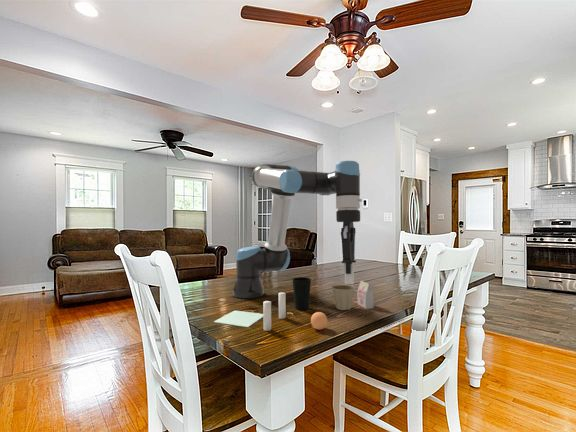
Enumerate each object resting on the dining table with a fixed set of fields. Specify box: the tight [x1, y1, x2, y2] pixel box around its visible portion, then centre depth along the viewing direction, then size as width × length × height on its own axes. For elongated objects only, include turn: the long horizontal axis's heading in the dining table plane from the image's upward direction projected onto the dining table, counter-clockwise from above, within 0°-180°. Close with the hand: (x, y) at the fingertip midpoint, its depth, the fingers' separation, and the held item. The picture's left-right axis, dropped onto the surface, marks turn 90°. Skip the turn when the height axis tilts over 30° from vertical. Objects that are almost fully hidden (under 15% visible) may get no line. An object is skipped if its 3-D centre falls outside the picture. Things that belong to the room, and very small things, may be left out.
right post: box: [278, 291, 287, 320], centre depth 107 cm, size 3×3×9 cm
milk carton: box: [356, 280, 374, 310], centre depth 121 cm, size 4×7×10 cm, turn 17°
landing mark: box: [213, 310, 263, 328], centre depth 106 cm, size 14×14×1 cm
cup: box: [291, 276, 312, 311], centre depth 118 cm, size 8×8×12 cm
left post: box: [262, 300, 272, 332], centre depth 95 cm, size 3×3×9 cm
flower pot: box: [331, 284, 356, 311], centre depth 118 cm, size 9×9×9 cm
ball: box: [310, 311, 328, 331], centre depth 95 cm, size 6×6×6 cm
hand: (349, 283), depth 91 cm, fingers closed
